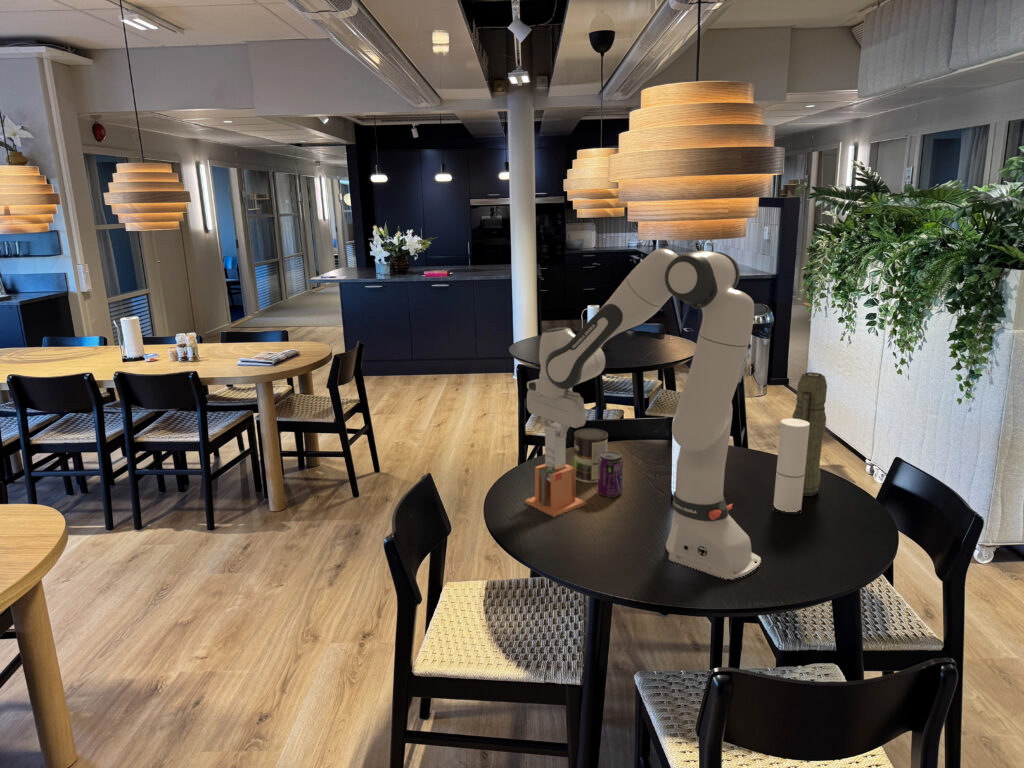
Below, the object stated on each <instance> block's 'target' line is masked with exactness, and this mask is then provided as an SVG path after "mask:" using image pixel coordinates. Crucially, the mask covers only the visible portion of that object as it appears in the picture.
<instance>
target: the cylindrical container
mask: <svg viewBox="0 0 1024 768" xmlns="http://www.w3.org/2000/svg"><path fill="white" fill-rule="evenodd" d="M809 425H810V423H809V422H807V421H805V420H801V419H792V417H790V418H783V419H781V420H780V427H779V438H778V450H777V460H776V461H777V463H776V474H775V475H776V476H775V485H774V496H773V505H774V507H775V508H776V509H778V510H781V511H785V512H797V511H799V510H801V511H802V505H803V504H802V503H803V498H804V497H803V486H804V476H805V466H806V456H807V446H808V436H809Z"/></svg>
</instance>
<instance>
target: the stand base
mask: <svg viewBox="0 0 1024 768" xmlns="http://www.w3.org/2000/svg"><path fill="white" fill-rule="evenodd" d="M548 477H549V472H548V471H546V470H545V463H543V464H539V465H537V466H535V467H534V495H535V496H532V497H530V498H527V499H525V500H524V503H525V504H526V503H527V504H526V505H528V504H529V505H528V506H530V505H531V507H532V506H533V507H532V508H534V507H535V509H536V508H537V509H536V510H539V511H540V512H543V513H545V514H547V515H549V516H552V517H553V518H554V517H557V515H558V516H560V515H563V514H565V512H566V513H568V512H571V511H574V510H576V509H579V508H581V507H583V506H586V501H585V500H583V499H580V498H578V497H576V488H577V487H576V485H577V484H576V483H577V482H576V468H575V467H574V466H572V465H569V464H567V463H566V469H563V470H560V471H557V472H554V473H551V482H549V481H547V478H548Z"/></svg>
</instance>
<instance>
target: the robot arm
mask: <svg viewBox="0 0 1024 768" xmlns="http://www.w3.org/2000/svg"><path fill="white" fill-rule="evenodd" d="M740 272H741V271H740V267H739V265H738V263H737V261H736V260H735V259H734V258H733V257H732V256H731V255H728V254H727V253H723V252H720V251H709V250H697V251H693V252H692V251H689V252H685V253H681V254H680V255H678V254H677V253H676V252H674V251H672V250H671V249H667V248H657V249H655V250H653V251H652V252H650V254H648V255H647V256H646V257H644V258H643V259H642V260H641V261H640V262H639V263H638V264H637V265H636V266H635V267H634V268H633V269H632V270H631V271H630V272H629V274H627V276H626V277H625V278H624V279H623V281H622V282H621V283H620V285H619V286H618V287H617V288H616V289H615V291H614V292H613V293H612V294H611V296H610V297H609V299H607V300H606V302H605V303H604V304H603V305H602V306H601V307H600V309H599V310H598V311H597V312H596V314H594V315H593V316H592V318H590V319H589V320H588V321H587V323H585V324H584V326H583V327H582V328H581V329H580V330H579V331H578V332H577V333H576V334H575V333H574V332H573V330H572V329H571V328H570V327H565V326H563V327H555V328H550V329H546V330H545V331H543V332H542V334H541V336H540V341H539V355H538V356H539V358H538V362H539V364H540V371H539V374H538V375H539V378H537V379H533V380H530V381H527V382H526V388H527V392H526V393H527V394H526V408H527V411H528V413H529V414H532V415H535V416H538V417H540V418H541V421H542V425H543V427H544V428H545V425H548V424H551V422H552V421H553V422H554V423H559V424H561V427H562V429H561V431H559V432H558V437H559V438H562V439H564V438H567V432H568V430H569V428H570V427H571V428H573V429H578V428H580V427H581V428H582V427H584V426H585V424H586V418H587V417H586V408H585V407H586V405H585V403H584V398H583V397H582V395H581V394H580V393H579V392H576V391H575V392H574V391H573V387H575V386H577V385H579V384H581V383H584V382H587V381H588V380H591V379H593V378H596V377H598V376H600V375H601V374H602V373H603V372H604V370H605V368H606V365H607V364H606V363H607V361H606V355H605V352H604V351H603V348H601V347H602V346H604V344H605V343H607V341H608V340H611V338H613V337H615V336H616V335H619V334H620V333H623V332H624V331H627V330H630V329H632V328H634V327H637V326H639V325H642V324H643V323H645V322H646V321H648V320H649V319H650V318H652V317H653V316H654V315H656V314H657V312H659V311H660V310H661V308H662V307H663V306H664V305H665V304H666V303H667V301H668V300H670V299H671V297H672V296H673V297H675V298H676V299H678V300H679V301H681V302H684V303H685V304H687V305H688V306H690V307H691V308H692V309H694V310H698V309H701V312H702V321H701V324H700V328H699V332H698V336H697V340H696V345H695V347H694V348H695V349H694V353H693V356H692V362H691V364H690V368H689V370H688V371H689V372H688V374H687V376H686V379H685V383H684V385H683V388H682V391H681V394H680V396H679V400H678V403H677V407H676V411H675V413H674V416H673V420H672V423H671V424H672V425H671V432H672V437H673V439H674V441H675V442H676V443H677V444H678V446H680V447H679V452H678V457H677V460H676V470H675V471H676V472H675V474H676V475H675V490H674V492H673V494H672V495H673V497H672V508H673V516H672V521H671V528H670V531H669V535H668V538H667V540H666V543H665V548H666V550H667V552H668V560H669V561H670V562H673V563H675V562H676V564H678V563H679V565H681V564H682V566H684V565H685V566H684V567H687V566H688V568H690V567H691V569H693V568H694V570H696V569H697V570H696V571H699V570H700V572H702V571H703V572H702V573H705V572H706V574H709V575H711V576H714V577H717V578H720V577H721V578H720V579H723V578H724V579H723V580H727V579H730V580H736V579H735V578H738V577H741V578H743V577H742V576H744V577H746V576H745V575H747V574H749V573H750V572H752V571H753V570H755V569H756V568H757V567H758V566H759V565H760V563H761V564H762V558H761V556H759V555H758V554H756V553H754V552H752V543H751V538H750V536H749V535H748V534H747V533H746V532H745V531H744V530H743V528H742V527H740V525H739V524H738V523H737V522H736V521H735V519H734V518H733V517H731V515H730V514H729V510H731V509H732V508H733V503H730V504H728V505H727V502H726V499H725V497H724V483H725V473H726V471H725V470H726V463H727V455H728V450H729V443H730V436H731V429H732V428H731V427H732V422H733V421H732V420H733V410H734V409H733V403H732V402H733V398H734V396H735V392H736V390H737V386H738V383H739V381H740V379H741V375H742V372H743V368H744V363H745V360H746V356H747V353H748V349H749V344H750V342H751V336H752V332H753V327H754V318H755V304H754V303H755V302H754V300H753V299H752V297H751V296H750V295H748V294H747V293H745V292H744V291H742V290H739V289H735V288H736V287H737V286H738V283H739V282H740V274H741V273H740ZM755 562H757V563H755ZM760 566H761V565H760ZM760 566H759V567H760ZM755 571H756V570H755ZM752 573H753V572H752ZM749 575H750V574H749ZM747 576H748V575H747ZM738 579H739V578H738Z"/></svg>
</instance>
